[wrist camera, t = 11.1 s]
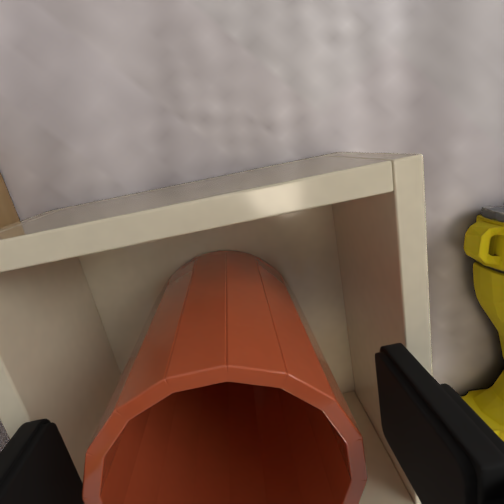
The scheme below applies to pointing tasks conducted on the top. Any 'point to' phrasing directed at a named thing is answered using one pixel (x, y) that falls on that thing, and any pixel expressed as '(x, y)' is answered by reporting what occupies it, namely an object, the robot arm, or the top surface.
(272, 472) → the cup
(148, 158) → the top surface
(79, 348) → the open wooden box
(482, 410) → the toy gun
